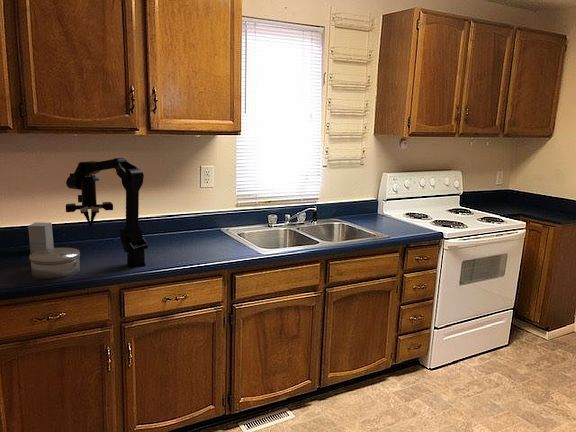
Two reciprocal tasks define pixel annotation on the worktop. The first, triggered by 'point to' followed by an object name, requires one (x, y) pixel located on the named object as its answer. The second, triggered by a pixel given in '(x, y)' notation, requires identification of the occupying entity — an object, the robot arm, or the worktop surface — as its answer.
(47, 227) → the supplement box
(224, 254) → the worktop surface
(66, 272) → the cooker pot
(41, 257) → the lid
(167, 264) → the worktop surface
